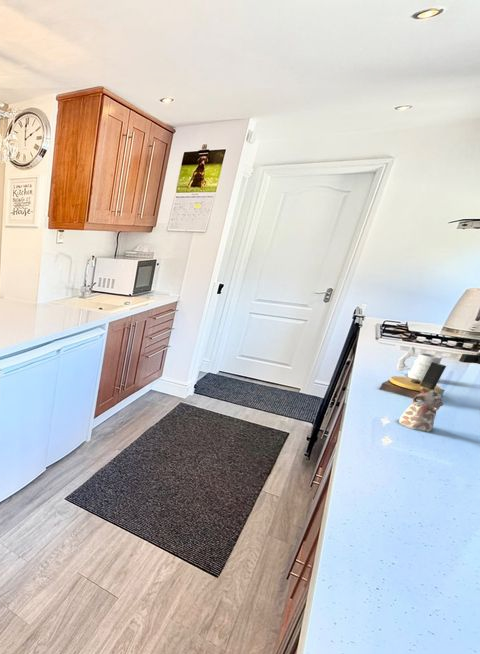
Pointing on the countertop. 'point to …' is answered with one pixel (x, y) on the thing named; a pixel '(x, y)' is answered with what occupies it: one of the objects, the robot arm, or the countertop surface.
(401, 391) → the wheel base
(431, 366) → the wheel
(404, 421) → the figurine
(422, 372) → the mug
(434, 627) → the countertop surface
